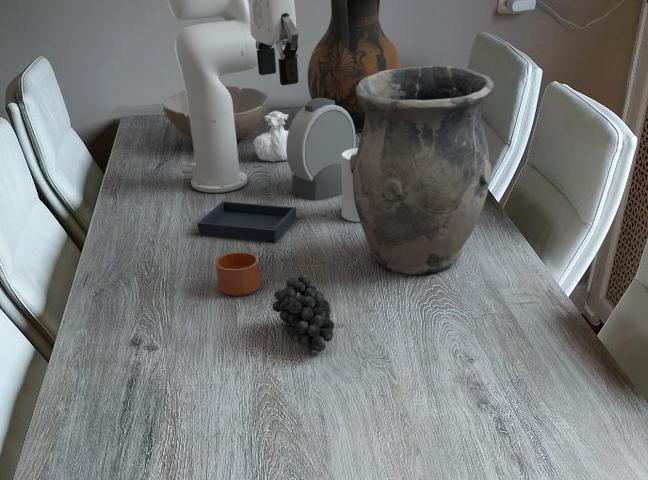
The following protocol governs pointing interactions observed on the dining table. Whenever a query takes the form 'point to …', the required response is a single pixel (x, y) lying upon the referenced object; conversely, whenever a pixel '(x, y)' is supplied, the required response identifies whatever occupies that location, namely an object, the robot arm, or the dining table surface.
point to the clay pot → (421, 164)
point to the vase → (350, 55)
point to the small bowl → (238, 273)
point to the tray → (247, 221)
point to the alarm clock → (319, 148)
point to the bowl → (245, 107)
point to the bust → (273, 139)
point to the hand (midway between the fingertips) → (278, 78)
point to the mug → (348, 188)
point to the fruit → (305, 313)
